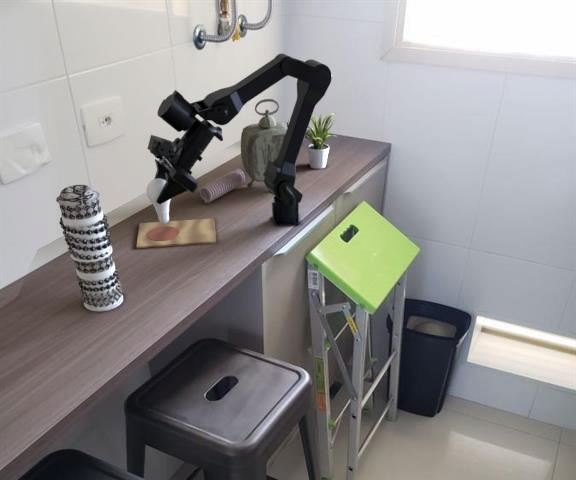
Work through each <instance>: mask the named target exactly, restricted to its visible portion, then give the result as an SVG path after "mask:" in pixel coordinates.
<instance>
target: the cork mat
mask: <svg viewBox="0 0 576 480" xmlns="http://www.w3.org/2000/svg"><path fill="white" fill-rule="evenodd" d="M203 244H217V238H216V226H215V217H214V218H213V217H211V218H197V219H196V218H195V219H183V220H182V219H181V220H169V221H168V222H167V223H162V222H160V221H153V222H140V223H139V225H138V231H137V238H136V246H135V248H136V249H147V248H148V249H149V248H160V247H162V248H163V247H175V246H189V245H191V246H192V245H203Z"/></svg>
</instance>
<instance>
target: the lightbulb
mask: <svg viewBox="0 0 576 480" xmlns="http://www.w3.org/2000/svg"><path fill="white" fill-rule="evenodd" d="M165 183H166V180H164V179H160V178H157V179H155V178H153V179H151V181H149V182H148V184H147V186H146V189H145V190H146V191H145V192H146V197H147V199H148V200H149V201H150V202H151V204H152V206H153V207H154V209H155V212H156V214H157V218H158V222H162V223H167V222H168V221H170V203H171V200H172V198H171V199H169V200H167V201H166V202H164V203H162V204H158V203H157V202H156V201H157V199H158V196H159V195H160V193H161V191H162V189H163V187H164V185H165Z"/></svg>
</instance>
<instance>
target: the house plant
mask: <svg viewBox="0 0 576 480" xmlns="http://www.w3.org/2000/svg"><path fill="white" fill-rule="evenodd" d="M335 114H336V112H332V113H331V114H328V115H326V116H325V117H324V118H323V120H322V114H320V115H319V118H318V117H316V116H315V115H314V113H313V114H312V117H311V120H310V121H311V122H312V124H313V126H312V125H311V124H310V123H309V125H308V128H307V129H309V131H308V130H307V131H306V134H305V135H306V136H305V137H304V138H305V139H307V140H308V141H309V144H308V145H307V146H306V147H307V153H308V160H309V167H310V168H311V169H315V170H322V169H325V168H326V166H327V163H328V158H329V157H328V156H329V152H330V145H329V144H327V143H326V141H327V140H328V139H329V138H332V137H333V135H330V134H329V133H332V131H330V129H331V128H332V127H333V126H334V122H335V121H336V119H334V120H333V117H334V115H335ZM332 120H333V122H332ZM313 127H314V128H313ZM335 137H336V138H338V136H337V135H335Z"/></svg>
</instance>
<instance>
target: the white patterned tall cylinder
mask: <svg viewBox="0 0 576 480" xmlns="http://www.w3.org/2000/svg"><path fill="white" fill-rule="evenodd" d="M55 201H56V202H57V203H58V204H59V205H58V206H59V209H60V212H61V215H60V218H59V225H60V228H61V229H62V230H63V231H62V235H63V236H64V241H65V243H66V245H67V246H68V247H67V250H68V251H69V254H70V258H71V259H72V260H73V262H74V264H75V272H76V274H77V275H76V280H77V282H78V283H77V285H78V287H79V288H80V289H79V292H80V295H81V300H82V302H83V306H84V307H85V308H86V309H87V310H89V311H91V312H100V313H101V312H107V311H111V310H113V309H116V308H117V307H119V306H121V304H122V303H123V301H124V296H123V294H122V293H123V290H122V287H121V286H122V284H121V282H120V281H119V280H120V277H119V274H118V273H119V272H118V268H117V267H116V265H115V261H114V259H113V256H112V253H113V246H112V244H113V241H112V239H110V238H111V232H109V231H108V229H109V227H110V224H109V223H108V222H107V221H108V219H109V217H108V216H107V215H106V214H104V211H103V208H102V206H101V201H100V193H99V192H98V191H97V190H94V189H93V188H92V187H91V186H89V185H86V184H74V185H69V186H66V187H64V188H63V189H62V190H61V191H60V193H59V195H57V197H56V199H55Z"/></svg>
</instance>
